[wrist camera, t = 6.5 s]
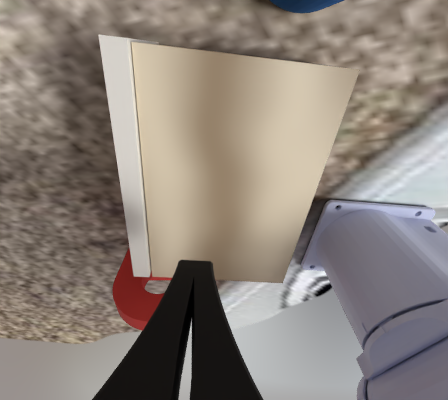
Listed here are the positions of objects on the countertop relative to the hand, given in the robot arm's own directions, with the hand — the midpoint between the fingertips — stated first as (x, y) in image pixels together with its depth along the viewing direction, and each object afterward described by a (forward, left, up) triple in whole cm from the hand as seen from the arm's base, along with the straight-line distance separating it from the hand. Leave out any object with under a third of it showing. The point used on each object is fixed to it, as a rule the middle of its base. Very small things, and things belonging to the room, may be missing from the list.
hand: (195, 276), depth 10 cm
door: (+4, -2, -9) cm, 10 cm away
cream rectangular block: (-1, -2, -9) cm, 10 cm away
